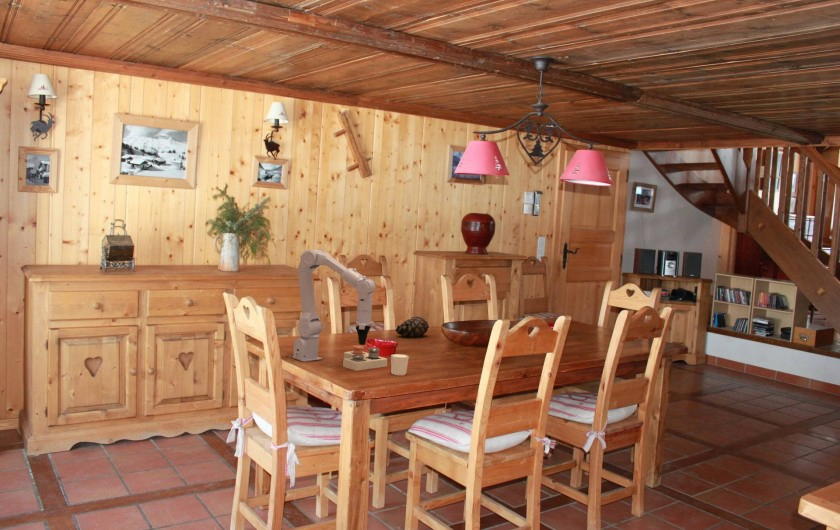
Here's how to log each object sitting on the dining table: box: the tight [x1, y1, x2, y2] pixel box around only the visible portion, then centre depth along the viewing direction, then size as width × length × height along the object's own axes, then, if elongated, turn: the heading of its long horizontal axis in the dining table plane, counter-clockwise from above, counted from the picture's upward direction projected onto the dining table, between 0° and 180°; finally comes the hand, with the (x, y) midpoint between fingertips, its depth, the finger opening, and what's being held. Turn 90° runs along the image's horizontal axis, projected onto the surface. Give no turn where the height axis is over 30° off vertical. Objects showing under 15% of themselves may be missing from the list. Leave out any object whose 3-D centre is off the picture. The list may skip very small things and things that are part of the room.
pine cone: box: [395, 316, 430, 339], centre depth 353 cm, size 10×18×10 cm, turn 139°
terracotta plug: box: [352, 344, 365, 355], centre depth 291 cm, size 5×5×4 cm
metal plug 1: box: [352, 354, 364, 362], centre depth 279 cm, size 5×5×4 cm
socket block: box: [342, 350, 388, 372], centre depth 285 cm, size 16×18×3 cm
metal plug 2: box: [367, 346, 381, 360], centre depth 284 cm, size 5×5×4 cm
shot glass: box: [390, 353, 410, 376], centre depth 274 cm, size 7×7×7 cm
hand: (362, 344), depth 279 cm, fingers closed
